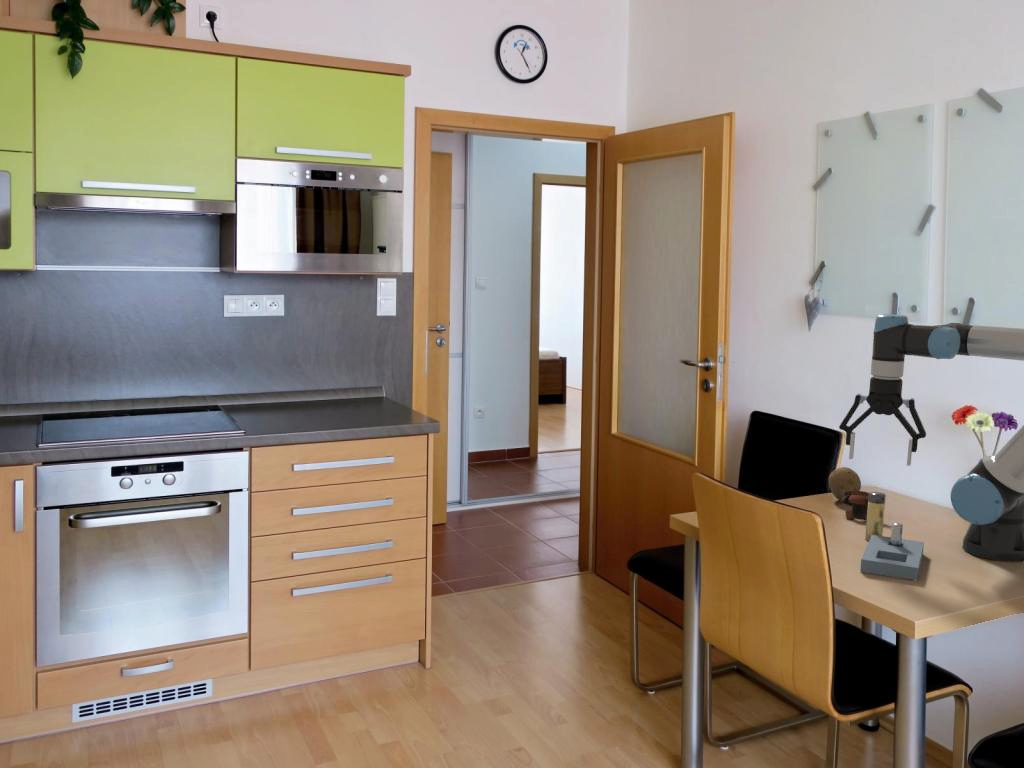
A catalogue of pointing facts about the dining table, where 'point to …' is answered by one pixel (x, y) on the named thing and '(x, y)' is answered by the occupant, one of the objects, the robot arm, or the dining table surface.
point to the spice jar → (875, 514)
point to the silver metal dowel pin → (896, 534)
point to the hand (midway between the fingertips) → (879, 461)
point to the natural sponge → (843, 482)
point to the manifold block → (892, 557)
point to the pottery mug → (856, 504)
